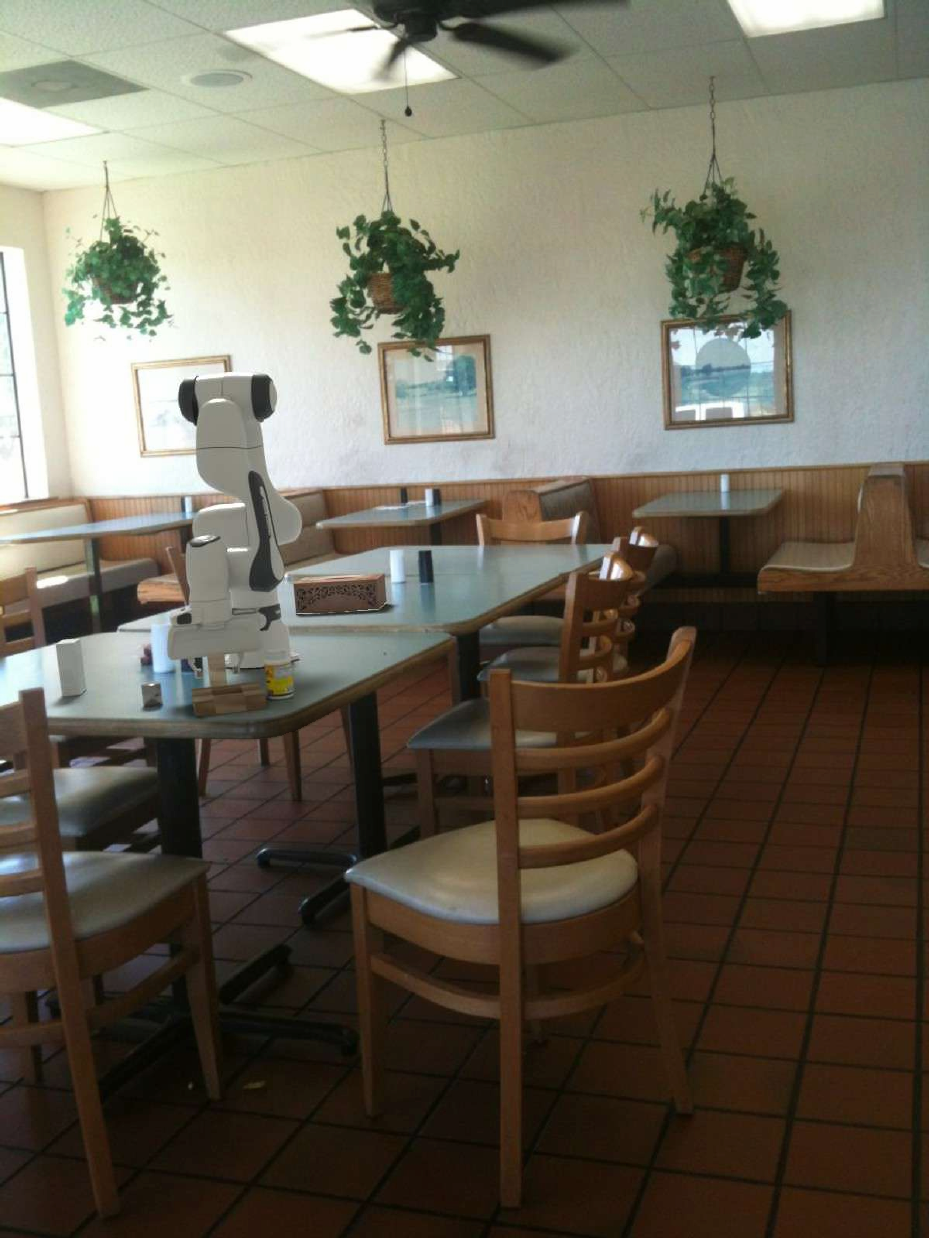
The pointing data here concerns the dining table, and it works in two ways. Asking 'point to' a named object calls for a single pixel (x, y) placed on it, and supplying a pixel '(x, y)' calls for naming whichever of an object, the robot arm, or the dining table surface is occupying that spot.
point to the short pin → (152, 694)
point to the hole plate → (228, 699)
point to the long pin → (217, 669)
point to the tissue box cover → (340, 593)
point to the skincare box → (71, 667)
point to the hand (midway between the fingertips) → (217, 675)
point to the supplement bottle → (278, 674)
